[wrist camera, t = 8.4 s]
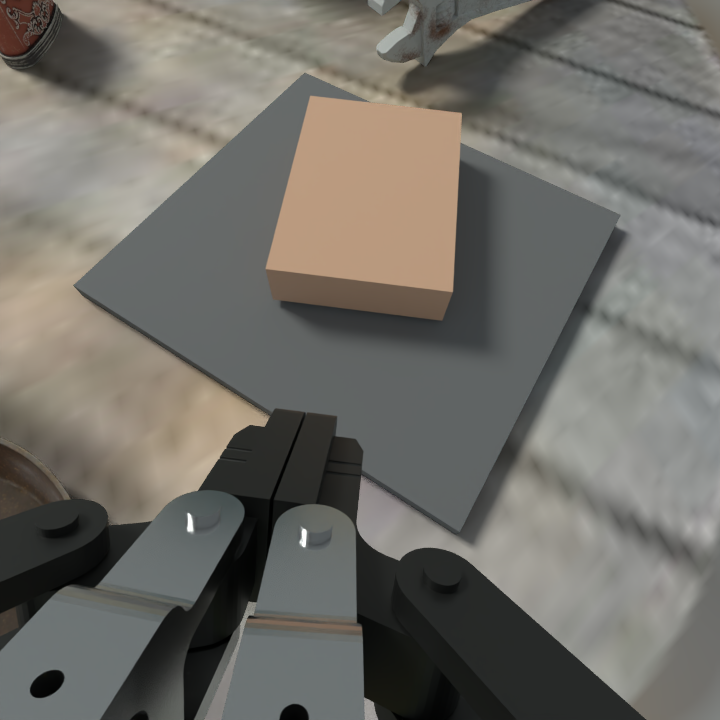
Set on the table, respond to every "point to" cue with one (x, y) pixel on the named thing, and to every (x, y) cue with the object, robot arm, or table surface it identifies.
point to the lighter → (27, 30)
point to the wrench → (430, 25)
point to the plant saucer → (23, 495)
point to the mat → (363, 328)
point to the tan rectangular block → (370, 210)
